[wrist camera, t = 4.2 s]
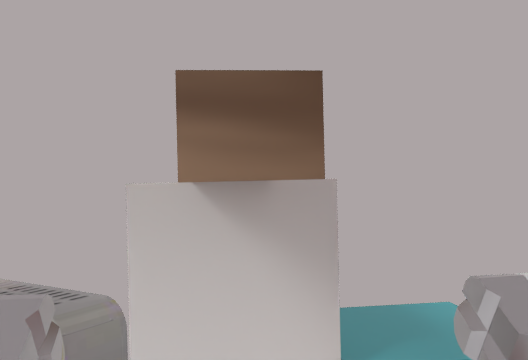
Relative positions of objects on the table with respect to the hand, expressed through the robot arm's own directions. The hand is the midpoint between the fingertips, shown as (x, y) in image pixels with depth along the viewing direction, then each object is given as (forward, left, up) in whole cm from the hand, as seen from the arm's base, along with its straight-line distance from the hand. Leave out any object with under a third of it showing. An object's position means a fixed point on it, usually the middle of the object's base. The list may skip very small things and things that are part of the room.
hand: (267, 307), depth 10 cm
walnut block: (-5, +16, +3) cm, 17 cm away
